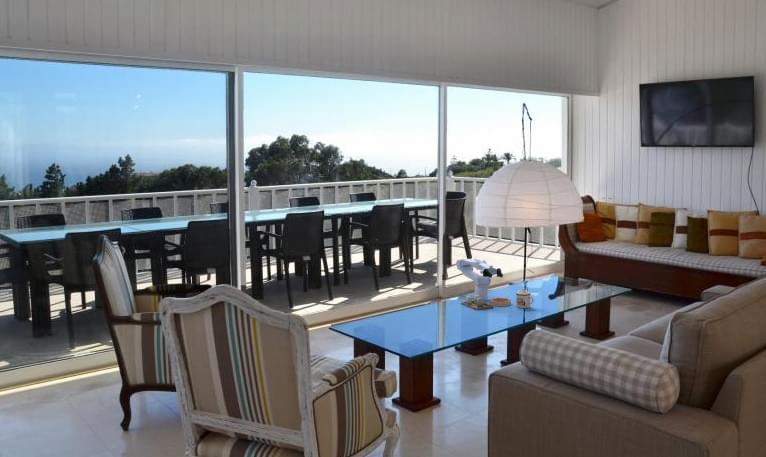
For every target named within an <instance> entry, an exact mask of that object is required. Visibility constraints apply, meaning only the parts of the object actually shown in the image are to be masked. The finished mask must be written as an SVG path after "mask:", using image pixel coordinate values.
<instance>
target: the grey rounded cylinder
mask: <svg viewBox="0 0 766 457" xmlns="http://www.w3.org/2000/svg"><path fill="white" fill-rule="evenodd" d="M484 301H485V300H484V298H477V307H478V308H480V307H484V303H485V302H484Z"/></svg>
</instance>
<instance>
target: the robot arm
mask: <svg viewBox="0 0 766 457" xmlns="http://www.w3.org/2000/svg"><path fill="white" fill-rule="evenodd" d="M455 264H456V268H457V270H459V271H460V272H461V273H462V274H463V276H465V277H466V278H468V279H470V280H471V281H472V282H473V284H474V285H475V287H474V295H480V298H484V301H487V300H489V301H490V298H489V286H490V285H491V282H492V281H491V278H493V276H495V275H496V277H497V278H498V277H499V278H503V276H504V274H503V272H502V268H498V267H497V268H496V267H493V265H489V264H488V263H487V262H486V260H484V259H483V260H480V259H477V258H473V259H472V258H465V259H463V258H461V259H457V260H456V262H455ZM474 268H475V270H476V271H479V273H480V274H479V273H477V272H475V271H474V270H473V269H474Z"/></svg>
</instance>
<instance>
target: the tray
mask: <svg viewBox="0 0 766 457" xmlns="http://www.w3.org/2000/svg"><path fill="white" fill-rule="evenodd" d="M460 305H463V306H465V307H467V308H470V309H473V310H475V311H480V310H482V311H483V310H488V309H489V310H490V309H495V306H493V305H491V304H490V303H487V302H484V307H480V308H478V307H477V305H476V304H474V300H472V305H468V304H466V301H461V302H460Z"/></svg>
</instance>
